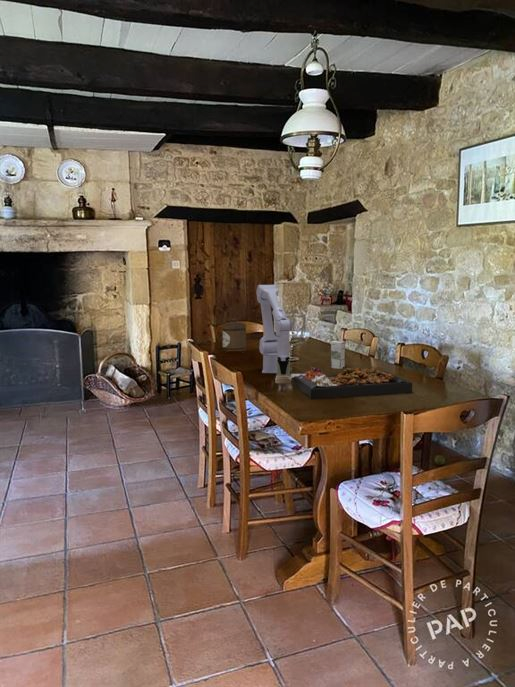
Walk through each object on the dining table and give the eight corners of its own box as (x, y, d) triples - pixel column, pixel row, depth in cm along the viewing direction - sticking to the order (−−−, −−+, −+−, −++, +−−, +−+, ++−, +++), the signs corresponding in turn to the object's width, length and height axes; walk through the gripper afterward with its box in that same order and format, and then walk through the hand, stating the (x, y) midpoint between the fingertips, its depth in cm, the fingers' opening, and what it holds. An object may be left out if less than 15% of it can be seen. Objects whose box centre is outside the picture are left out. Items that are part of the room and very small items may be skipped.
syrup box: (344, 367, 265) (345, 340, 263) (340, 369, 260) (341, 342, 258) (334, 366, 268) (335, 339, 266) (330, 368, 263) (330, 341, 260)
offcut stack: (275, 382, 233) (275, 375, 233) (290, 382, 233) (290, 375, 232) (275, 383, 231) (275, 376, 230) (290, 383, 230) (290, 376, 230)
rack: (275, 377, 242) (275, 374, 242) (291, 378, 241) (291, 374, 241) (275, 380, 237) (275, 377, 237) (291, 380, 236) (291, 377, 236)
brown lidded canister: (221, 351, 319) (220, 317, 315) (244, 350, 321) (244, 316, 318) (224, 355, 304) (223, 319, 301) (248, 354, 307) (247, 319, 303)
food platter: (310, 399, 204) (311, 374, 202) (294, 385, 228) (294, 363, 226) (412, 393, 213) (413, 369, 211) (385, 380, 237) (386, 359, 235)
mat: (291, 374, 249) (291, 373, 249) (306, 374, 248) (306, 373, 248) (291, 377, 242) (291, 377, 241) (307, 378, 241) (307, 377, 241)
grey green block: (277, 377, 240) (277, 361, 239) (289, 377, 240) (289, 361, 239) (277, 378, 238) (277, 361, 237) (289, 378, 238) (289, 362, 237)
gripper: (275, 342, 244) (275, 369, 246) (274, 347, 230) (274, 376, 232) (290, 342, 244) (290, 370, 246) (289, 347, 229) (289, 376, 231)
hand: (283, 373), depth 239 cm, fingers open, 5 cm apart
